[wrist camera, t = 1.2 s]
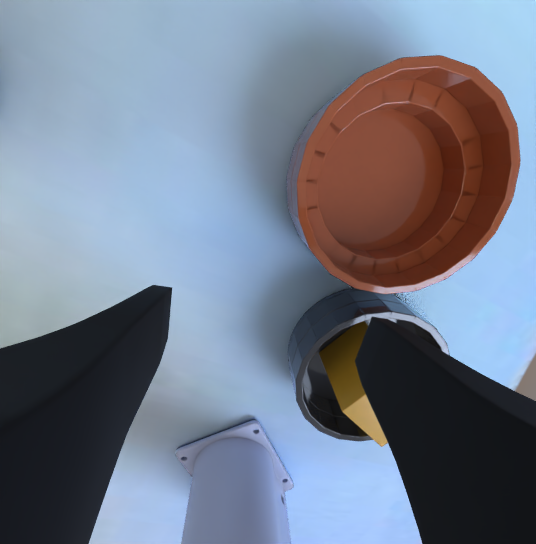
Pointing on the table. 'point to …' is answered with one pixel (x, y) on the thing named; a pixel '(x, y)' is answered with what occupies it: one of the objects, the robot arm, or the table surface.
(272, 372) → the table surface
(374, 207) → the bowl
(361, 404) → the block
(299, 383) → the pot
